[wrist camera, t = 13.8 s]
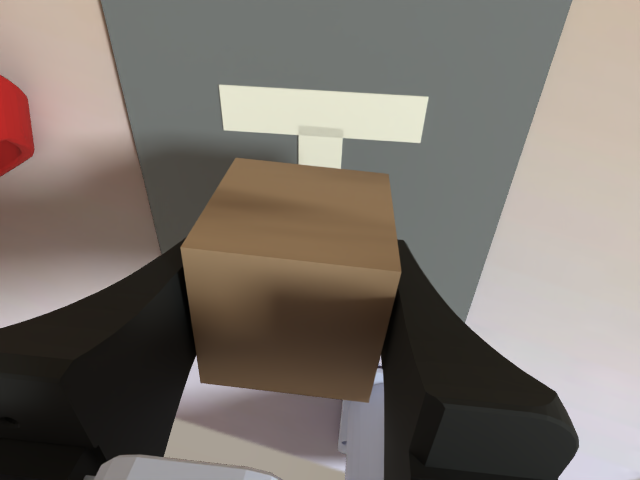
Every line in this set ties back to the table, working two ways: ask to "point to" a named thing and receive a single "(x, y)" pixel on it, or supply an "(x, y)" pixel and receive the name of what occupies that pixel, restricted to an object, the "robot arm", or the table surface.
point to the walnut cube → (293, 279)
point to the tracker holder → (14, 127)
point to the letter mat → (341, 106)
